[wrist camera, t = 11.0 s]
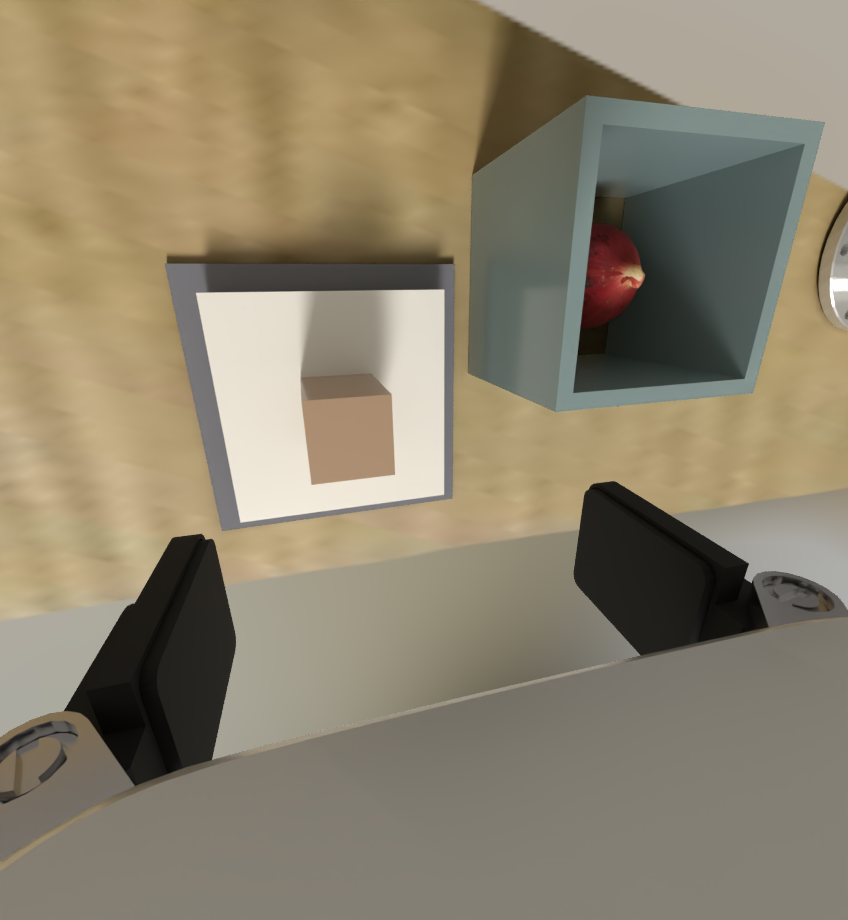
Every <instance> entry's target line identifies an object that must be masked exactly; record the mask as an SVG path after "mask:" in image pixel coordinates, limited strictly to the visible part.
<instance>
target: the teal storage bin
mask: <svg viewBox="0 0 848 920" xmlns="http://www.w3.org/2000/svg"><path fill="white" fill-rule="evenodd" d="M824 124H825V123H824V122H819V121H809V120H801V119H792V118H783V117H774V116H766V115H757V114H747V113H739V112H731V111H722V110H713V109H704V108H695V107H687V106H678V105H669V104H660V103H652V102H643V101H634V100H625V99H617V98H608V97H599V96H590V95H586V96H585V97H583V98H582V99H580V100H579V101H578V102H576V103H575V104H573V105H572V106H570V107H569V108H568V109H566V110H565V111H563V112H562V113H560V114H559V115H558V116H556V117H555V118H553V119H552V120H550V121H549V122H547V123H546V124H545V125H543V126H542V127H540V128H539V129H537V130H536V131H535V132H533V133H532V134H530V135H529V136H527V137H526V138H525V139H523V140H522V141H520V142H519V143H517V144H516V145H515V146H513V147H512V148H510V149H509V150H507V151H506V152H505V153H503V154H502V155H500V156H499V157H497V158H496V159H495V160H493V161H492V162H490V163H489V164H487V165H486V166H485V167H483V168H482V169H480V170H479V171H477V172H476V173H475V174H473V175H472V210H471V258H470V305H469V352H468V373H469V374H471V375H473V376H476V377H478V378H480V379H482V380H485V381H487V382H489V383H491V384H494V385H496V386H498V387H500V388H503V389H505V390H507V391H510V392H512V393H514V394H516V395H519V396H521V397H523V398H525V399H528V400H530V401H532V402H534V403H537V404H539V405H541V406H544V407H546V408H548V409H550V410H553V411H555V412H559V411H570V410H581V409H591V408H602V407H612V406H623V405H634V404H644V403H655V402H665V401H676V400H687V399H697V398H708V397H719V396H729V395H740V394H750V393H753V391H754V387H755V384H756V380H757V376H758V372H759V369H760V365H761V361H762V357H763V353H764V350H765V346H766V342H767V338H768V335H769V331H770V327H771V323H772V320H773V316H774V312H775V308H776V304H777V301H778V297H779V293H780V289H781V286H782V282H783V278H784V274H785V271H786V267H787V263H788V259H789V256H790V252H791V248H792V244H793V240H794V237H795V233H796V229H797V225H798V222H799V218H800V214H801V210H802V207H803V203H804V199H805V195H806V191H807V188H808V184H809V180H810V176H811V173H812V169H813V165H814V161H815V158H816V154H817V150H818V146H819V143H820V139H821V135H822V131H823V127H824ZM595 197H614V198H625V205H624V212H623V220H622V227H621V231H623V232H625V233H626V234H627V235H628V236H629V237H630V239H631V240H632V242H633V244H634V245H635V247H636V249H637V251H638V254H639V259H640V264H641V268H642V271H643V272H644V274H645V277H644V280H643V283H642V284H641V286H640V287H639V288H637V291H636V293H635V296H634V298H633V299H632V301H631V302H630V303H629V305H628V306H627V307H626V308H625V310H624V311H623V312H622V313H621V314H620V315H619V316H618V317H616V318H614V319H612V320H611V321H609V324H608V332H607V339H606V347H605V353H604V354H587V355H577V353H578V344H579V335H580V326H581V317H582V308H583V299H584V290H585V281H586V272H587V263H588V254H589V245H590V236H591V227H592V218H593V209H594V200H595Z"/></svg>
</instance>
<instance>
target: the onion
mask: <svg viewBox="0 0 848 920" xmlns="http://www.w3.org/2000/svg"><path fill="white" fill-rule="evenodd" d="M644 277H645V274H644V272H643V271H642V268H641V264H640V259H639V254H638V251H637V249H636V247H635V245H634V244H633V242H632V240H631V239H630V237H629V236H628V235H627V234H626V233H625V232H623V231H621V230H619V229H618V228H616V227H614V226H613V225H610V224H606V223H592V227H591V236H590V245H589V254H588V263H587V272H586V281H585V290H584V299H583V308H582V317H581V326H580V329H587V328H594V327H598V326H601V325H603V324H605V323H607V322H609V321H611V320H612V319H614V318H616V317H618V316H619V315H620V314H621V313H622V312H623V311H624V310H625V308H626V307H627V306H628V305H629V303H630V302H631V301H632V299H633V298H634V296H635V293H636V291H637V288H639V287H640V286H641V284H642V283H643V280H644Z"/></svg>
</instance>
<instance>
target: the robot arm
mask: <svg viewBox="0 0 848 920" xmlns="http://www.w3.org/2000/svg"><path fill="white" fill-rule="evenodd" d="M818 288H819V298H820V302H821V306H822V309H823V312H824V313H825V315H826V317H827V318H828V320H829V321H830V322H831V323H832V324H833V325H834V326H835V327H837V328H839V329H842V330H844V331H848V202H847V203H846V205H845V206H844V208H843V209H842V211H841V213H840V215H839V216H838V218H837V220H836V221H835V223H834V226H833V228H832V230H831V232H830V234H829V237H828V239H827V242H826V245H825V248H824V251H823V255H822V259H821V264H820V270H819V283H818ZM748 565H749V564H748V563H746V562H745V561H744V560H742V559H740V558H738V557H737V556H735V555H734V554H732V553H731V552H729V551H727V550H726V549H724V548H722V547H721V546H719V545H717V544H716V543H714V542H713V541H711V540H709V539H708V538H706V537H705V536H703V535H701V534H700V533H698V532H696V531H695V530H693V529H692V528H690V527H688V526H686V525H685V524H683V523H682V522H680V521H679V520H677V519H675V518H674V517H672V516H670V515H669V514H667V513H666V512H664V511H662V510H661V509H659V508H657V507H656V506H654V505H653V504H651V503H649V502H648V501H646V500H644V499H643V498H641V497H640V496H638V495H636V494H635V493H633V492H631V491H630V490H628V489H627V488H625V487H623V486H622V485H620V484H618V483H617V482H614V481H612V482H604V483H596V484H593V485H591V486H590V488H589V490H587V491H586V492H585V495H584V501H583V508H582V515H581V523H580V530H579V537H578V545H577V552H576V559H575V566H574V579H575V582H576V584H577V586H578V587H579V588H580V589H581V590H582V591H583V593H584V594H585V595H586V596H587V597H588V598H589V599H590V600H591V601H592V602H593V603H594V605H595V606H596V607H597V608H598V609H599V610H600V611H601V612H602V613H603V614H604V616H605V617H606V618H607V619H608V620H609V621H610V622H611V623H612V624H613V625H614V626H615V627H616V629H617V630H618V631H619V632H620V633H621V634H622V635H623V636H624V637H625V639H627V641H628V642H629V643H630V644H631V645H632V646H633V647H634V648H635V649H636V651H637V652H638V653H639V654H640V655H641V656H637V657H633V658H628V659H624V660H619V661H615V662H611V663H606V664H602V665H598V666H593V667H589V668H585V669H580V670H576V671H572V672H568V673H563V674H559V675H555V676H551V677H546V678H542V679H538V680H533V681H529V682H525V683H520V684H517V685H512V686H508V687H503V688H499V689H495V690H491V691H486V692H482V693H478V694H474V695H469V696H465V697H461V698H457V699H453V700H449V701H444V702H440V703H436V704H432V705H428V706H424V707H420V708H415V709H412V710H407V711H403V712H399V713H394V714H391V715H386V716H382V717H378V718H374V719H370V720H365V721H361V722H357V723H353V724H349V725H345V726H341V727H336V728H333V729H328V730H324V731H320V732H316V733H312V734H308V735H304V736H300V737H296V738H292V739H288V740H284V741H280V742H276V743H272V744H268V745H264V746H261V747H257V748H254V749H250V750H246V751H242V752H239V753H235V754H232V755H228V756H225V757H221V758H217V759H214V760H212V757H213V752H214V747H215V742H216V738H217V733H218V729H219V724H220V719H221V715H222V710H223V704H224V700H225V695H226V691H227V686H228V682H229V677H230V672H231V668H232V663H233V658H234V654H235V647H236V636H235V630H234V626H233V622H232V617H231V612H230V608H229V604H228V599H227V595H226V590H225V586H224V581H223V577H222V573H221V568H220V564H219V559H218V555H217V551H216V546H215V543H214V541H213V539H208V540H205V538H204V536H203V535H202V534H197V535H189V536H181V537H174V538H172V540H171V541H170V543H169V545H168V546H167V548H166V550H165V552H164V553H163V555H162V557H161V559H160V560H159V562H158V564H157V566H156V567H155V569H154V571H153V573H152V574H151V576H150V578H149V580H148V581H147V583H146V585H145V587H144V588H143V590H142V592H141V594H140V595H139V597H138V599H137V601H136V602H135V604H131V605H129V606H127V607H126V608H125V610H124V611H123V612H122V614H121V616H120V617H119V619H118V621H117V622H116V624H115V626H114V627H113V629H112V631H111V632H110V634H109V636H108V638H107V639H106V641H105V643H104V644H103V646H102V648H101V649H100V651H99V653H98V654H97V656H96V658H95V660H94V661H93V663H92V665H91V666H90V668H89V670H88V671H87V673H86V675H85V676H84V678H83V680H82V681H81V683H80V685H79V686H78V688H77V690H76V692H75V693H74V695H73V697H72V698H71V700H70V702H69V703H68V705H67V707H66V708H65V710H64V712H57V713H50V714H47V715H44V716H41V717H38V718H36V719H32V720H30V721H28V722H26V723H24V724H22V725H20V726H18V727H16V728H14V729H12V730H10V731H9V732H8V733H6V734H5V735H3V736H2V737H0V920H848V610H847V608H846V607H845V605H844V603H843V602H842V601H841V600H840V599H839V598H838V596H836V595H835V594H834V593H832V592H831V591H829V590H828V589H827V588H825V587H823V586H821V585H819V584H817V583H815V582H813V581H811V580H808V579H805V578H803V577H800V576H796V575H793V574H789V573H783V572H776V571H769V572H762V573H758V574H757V575H756V576H755V577H754V578H753V581H752V583H750V582H748V581H747V580H746V579H744V577H745V574H746V571H747V568H748Z"/></svg>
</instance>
